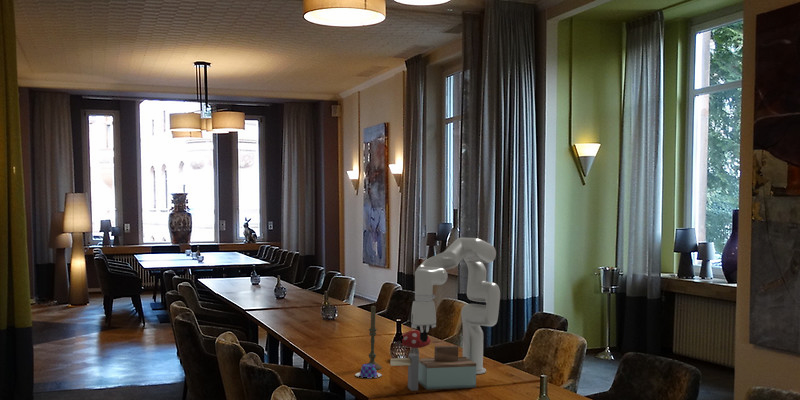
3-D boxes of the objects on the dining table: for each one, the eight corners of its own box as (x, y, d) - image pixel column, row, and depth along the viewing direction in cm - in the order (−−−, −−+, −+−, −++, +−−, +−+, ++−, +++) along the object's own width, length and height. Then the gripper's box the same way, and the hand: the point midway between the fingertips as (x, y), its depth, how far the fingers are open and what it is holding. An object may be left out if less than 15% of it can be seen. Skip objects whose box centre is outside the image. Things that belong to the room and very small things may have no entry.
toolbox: (402, 382, 323) (402, 349, 323) (465, 379, 330) (465, 347, 331) (411, 390, 309) (411, 356, 309) (476, 387, 316) (477, 354, 316)
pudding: (368, 380, 326) (368, 369, 326) (349, 376, 334) (349, 364, 334) (387, 376, 335) (387, 364, 335) (368, 372, 343) (368, 360, 343)
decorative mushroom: (436, 360, 371) (437, 330, 371) (413, 364, 360) (413, 333, 360) (415, 355, 383) (415, 326, 383) (392, 358, 372) (392, 329, 372)
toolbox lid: (418, 363, 325) (418, 344, 325) (465, 361, 331) (465, 343, 331) (427, 370, 312) (427, 351, 312) (476, 368, 317) (476, 349, 317)
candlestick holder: (381, 366, 355) (382, 303, 356) (381, 370, 346) (383, 306, 346) (362, 365, 355) (363, 303, 355) (362, 370, 346) (363, 305, 346)
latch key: (390, 364, 311) (390, 358, 311) (417, 363, 314) (417, 357, 314) (391, 365, 308) (391, 359, 308) (419, 364, 311) (419, 358, 311)
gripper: (438, 296, 319) (438, 338, 319) (404, 297, 315) (404, 340, 315) (443, 298, 312) (443, 342, 312) (409, 300, 308) (409, 344, 308)
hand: (423, 341), depth 314 cm, fingers closed
